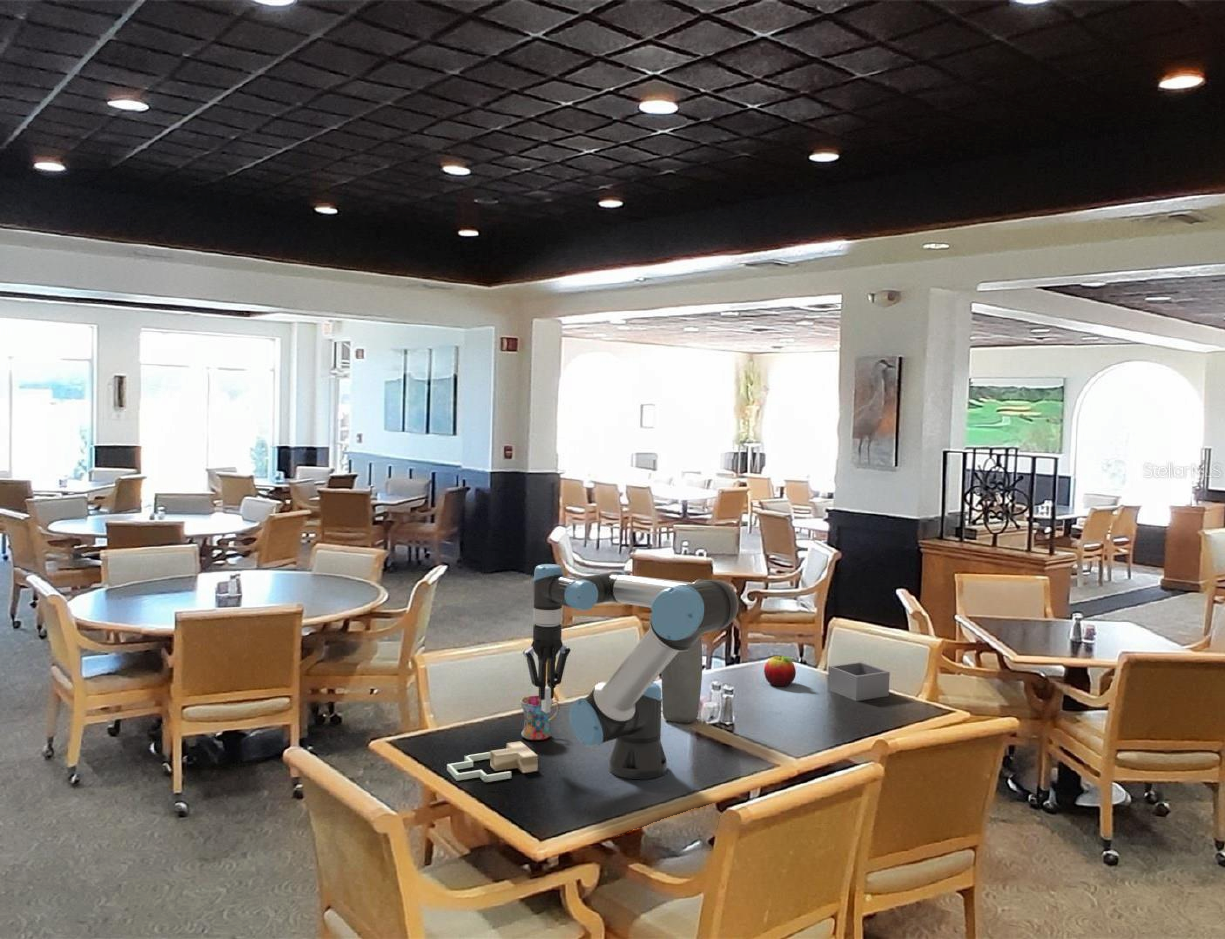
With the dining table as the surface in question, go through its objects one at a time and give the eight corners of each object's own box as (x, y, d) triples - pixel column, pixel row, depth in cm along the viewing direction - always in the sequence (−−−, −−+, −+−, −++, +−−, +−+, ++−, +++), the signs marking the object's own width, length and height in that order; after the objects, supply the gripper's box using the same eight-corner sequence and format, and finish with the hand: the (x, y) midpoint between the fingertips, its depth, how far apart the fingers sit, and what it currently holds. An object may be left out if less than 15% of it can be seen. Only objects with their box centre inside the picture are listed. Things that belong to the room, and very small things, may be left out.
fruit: (777, 678, 344) (778, 650, 344) (802, 685, 336) (803, 656, 335) (757, 683, 338) (757, 654, 337) (781, 690, 329) (782, 661, 329)
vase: (656, 724, 292) (658, 624, 290) (664, 712, 304) (666, 616, 302) (697, 728, 289) (699, 627, 287) (703, 715, 301) (705, 618, 299)
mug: (528, 744, 273) (529, 707, 272) (514, 735, 281) (514, 698, 280) (566, 737, 279) (567, 701, 279) (551, 728, 287) (552, 692, 287)
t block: (537, 770, 254) (537, 755, 254) (501, 776, 249) (501, 761, 249) (520, 755, 265) (520, 741, 264) (484, 760, 260) (485, 746, 260)
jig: (511, 778, 249) (511, 772, 248) (461, 786, 243) (461, 780, 242) (489, 757, 263) (489, 752, 263) (442, 764, 257) (442, 759, 257)
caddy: (888, 695, 325) (889, 672, 325) (855, 701, 319) (856, 676, 318) (860, 685, 338) (860, 662, 337) (827, 689, 331) (828, 666, 331)
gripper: (564, 618, 266) (562, 704, 267) (519, 622, 260) (517, 710, 261) (575, 624, 259) (574, 712, 261) (529, 628, 253) (528, 718, 255)
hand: (545, 711), depth 261 cm, fingers closed
